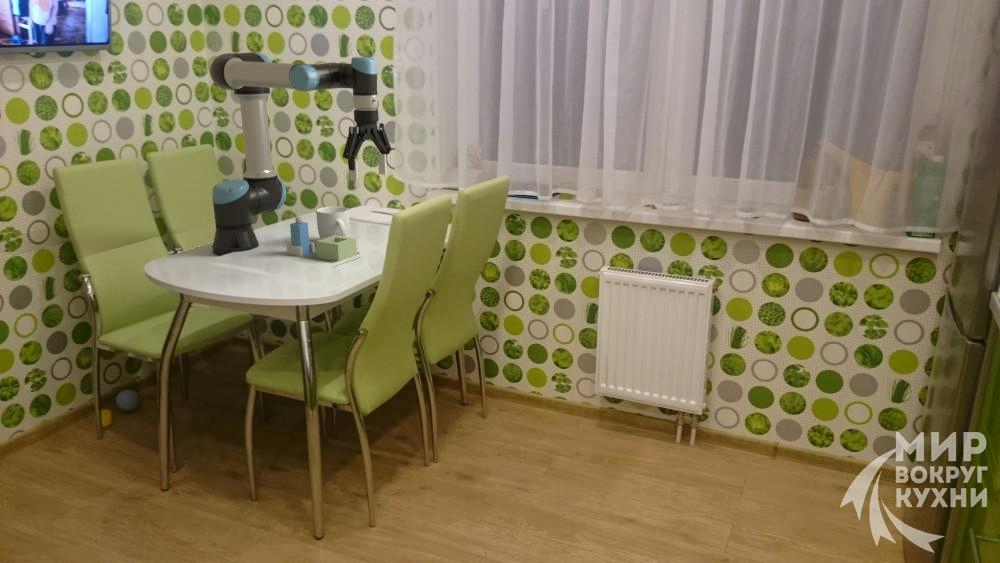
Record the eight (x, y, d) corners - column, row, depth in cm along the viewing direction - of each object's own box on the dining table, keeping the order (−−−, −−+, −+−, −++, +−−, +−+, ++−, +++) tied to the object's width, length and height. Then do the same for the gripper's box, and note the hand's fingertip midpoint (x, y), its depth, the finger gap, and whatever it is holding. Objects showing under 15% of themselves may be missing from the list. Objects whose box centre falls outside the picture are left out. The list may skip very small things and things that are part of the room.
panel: (286, 258, 266) (285, 245, 265) (315, 249, 278) (314, 236, 276) (332, 267, 257) (331, 253, 255) (360, 257, 268) (360, 244, 267)
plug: (292, 253, 267) (289, 217, 263) (300, 250, 270) (298, 215, 266) (301, 255, 265) (298, 219, 261) (309, 252, 268) (307, 217, 265)
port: (317, 257, 262) (316, 241, 261) (335, 251, 270) (334, 235, 268) (338, 261, 258) (337, 244, 256) (356, 254, 265) (356, 238, 264)
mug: (360, 250, 277) (358, 212, 273) (329, 254, 271) (327, 216, 267) (343, 240, 289) (341, 205, 285) (313, 245, 283) (311, 208, 279)
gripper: (347, 113, 237) (350, 184, 243) (401, 106, 257) (403, 172, 263) (328, 111, 241) (332, 182, 247) (383, 105, 261) (385, 170, 267)
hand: (368, 177), depth 255 cm, fingers open, 13 cm apart
